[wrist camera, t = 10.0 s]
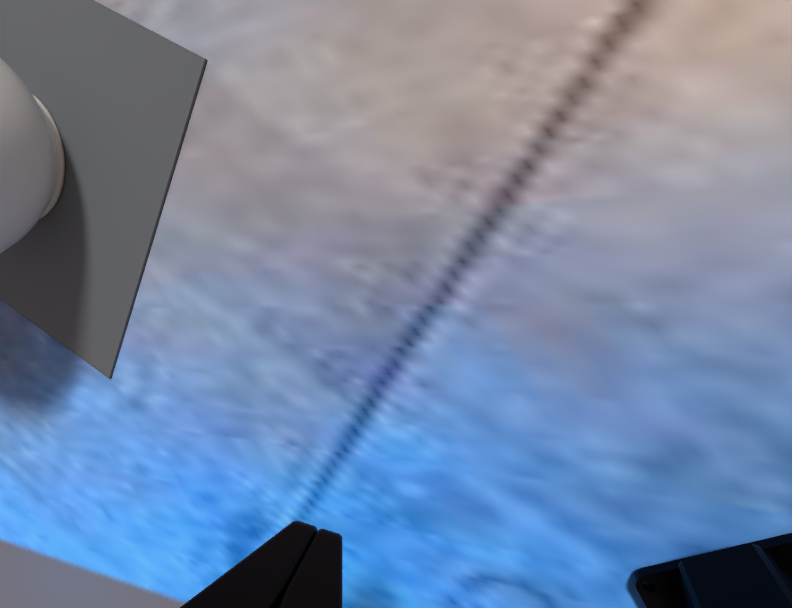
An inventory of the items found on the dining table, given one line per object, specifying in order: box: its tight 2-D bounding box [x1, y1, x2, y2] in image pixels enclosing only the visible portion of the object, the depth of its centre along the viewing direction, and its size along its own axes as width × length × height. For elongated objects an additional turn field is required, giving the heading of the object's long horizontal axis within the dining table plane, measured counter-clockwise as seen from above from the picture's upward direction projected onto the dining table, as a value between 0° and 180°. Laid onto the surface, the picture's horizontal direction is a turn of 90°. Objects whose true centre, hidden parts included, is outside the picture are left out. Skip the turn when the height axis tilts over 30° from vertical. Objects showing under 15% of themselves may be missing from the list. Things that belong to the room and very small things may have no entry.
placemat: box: [0, 0, 207, 378], centre depth 24 cm, size 18×18×1 cm
